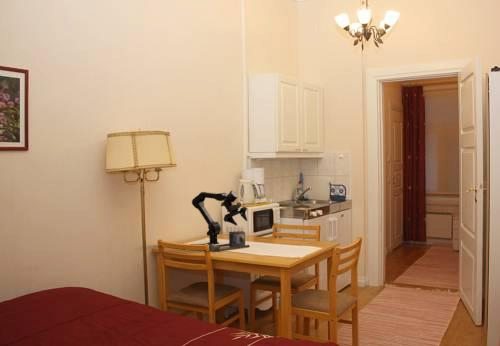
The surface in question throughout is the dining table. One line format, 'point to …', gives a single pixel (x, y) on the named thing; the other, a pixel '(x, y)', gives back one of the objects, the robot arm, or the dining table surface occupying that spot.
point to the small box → (236, 238)
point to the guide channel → (217, 248)
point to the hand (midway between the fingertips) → (242, 223)
